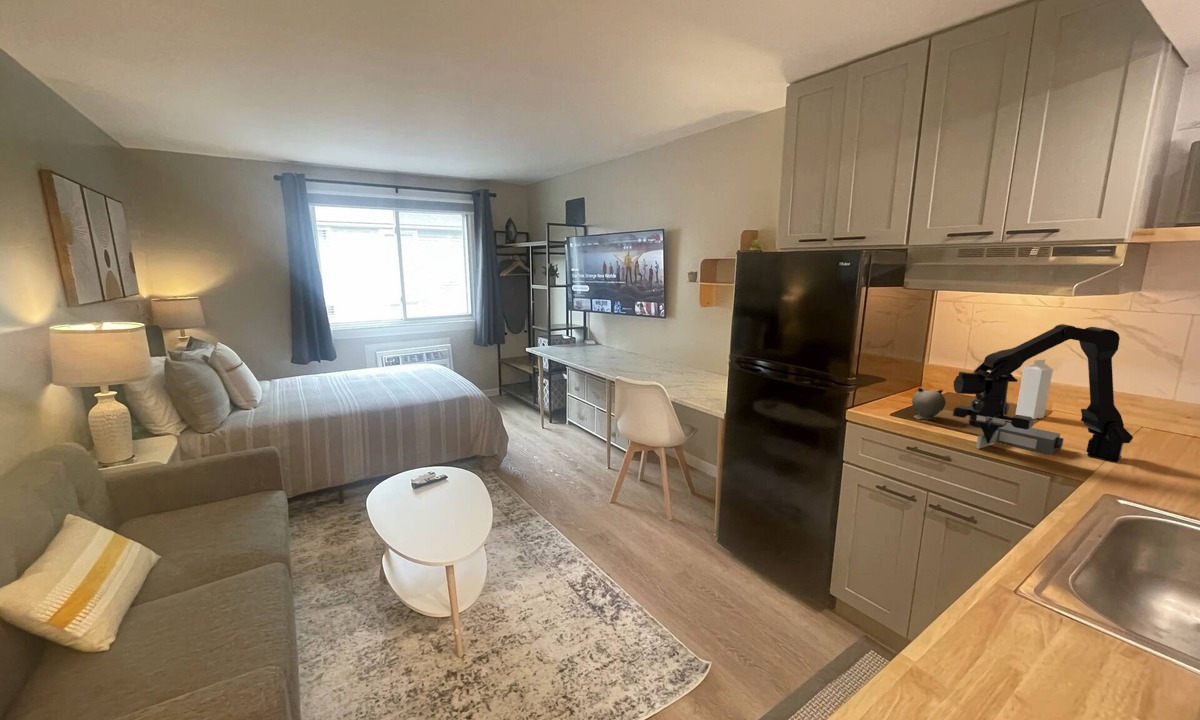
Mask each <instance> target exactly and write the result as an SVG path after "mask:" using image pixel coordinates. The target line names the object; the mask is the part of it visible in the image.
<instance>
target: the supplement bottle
mask: <svg viewBox="0 0 1200 720" xmlns="http://www.w3.org/2000/svg"><path fill="white" fill-rule="evenodd" d="M982 396H983V393H981V394H975V396H974V397H975V399H972V401H971V402H970V407H973V409H974V410H975V411H980V410H981V406H980V403H981V399H982ZM968 416H969V417H968V425H970V426H972V427H976V428H980V429H981V427H980V425H979V423H976V422H975V421H976V420H977V417H975V416H970V415H968ZM985 416H987V415H985ZM992 422H993V420H992Z"/></svg>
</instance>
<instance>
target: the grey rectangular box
mask: <svg viewBox="0 0 1200 720" xmlns="http://www.w3.org/2000/svg"><path fill="white" fill-rule="evenodd" d="M1000 443H1001V445H1004V444H1006V445H1005V446H1008V445H1009V447H1012V448H1017V449H1021V450H1025V451H1030V452H1034V453H1038V454H1041V455H1042V454H1043V455H1046V456H1052V455H1053V454H1054V453H1055V452H1056V451H1057V450H1061V449H1062V448H1063V445H1064V437H1061V433H1059V432H1055V431H1050V430H1046V429H1040V428H1035V427H1031V428H1029V429H1021V428H1016V427H1013V425H1012V424H1011V423H1008V422H1007V424H1006V425H1005V426H1003V427H999V428H998V430H997V434H996V440H995V443H994V444H1000Z"/></svg>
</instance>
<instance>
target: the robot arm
mask: <svg viewBox="0 0 1200 720" xmlns="http://www.w3.org/2000/svg"><path fill="white" fill-rule="evenodd" d="M1120 338H1121V337H1120V334H1119V333H1118V332H1117V331H1115V330H1113V329H1108V328H1103V327H1096V326H1088V327H1086V328H1081V327H1077V326H1074V325H1070V324H1069V325H1068V324H1064V323H1061V324H1057V325H1055V326H1054V327H1053V328H1051V329H1049V330H1048V331H1045V332H1043V333H1041V334H1039V335H1037V336H1035V337H1033V338H1031V339H1028V340H1027V341H1025V342H1023V343H1021V344H1019V345H1017V346H1015V347H1011V348H1009V349H1008V348H1007V349H1002V350H999V351H995V352H992V353H990V354H988V355H986V356H985V358H984V360H983V362H982V363H981V364H980V365H978V366H977V368H976V369H974V370H973V372H965V371H959V372H958V375H957V376H956V377H955V379H954V380H953V391H955V393H956V394H960V395H962V394H964V395H976V394H981V393H983V396H982V399H981V403H980V406H981V410H980V411H975V410H974V409H973V407H971V406H968V405H963V404H959V405H958V406H956V407H954V409H953V411H952V416H953V417H957V418H963V419H964V418H966V417H967V416H969V415H970V416H975V417H977V420H976V421H975V422H976V423H979V425H980V427H981V428H980V429H981V430H982V434H984V435H985V438H986V441H987V443H990V440H991V439H992V437H993V435H994V434H995V432H996V431H997V430H998V428H999V427H1003V426H1005V425H1006V424H1007V423H1011V424H1012V425H1013V427H1016V428H1021V429H1029V428H1033V425H1034V419H1032V417H1028V416H1022V415H1016V414H1015V415H1014V416H1008V414H1009V409H1010V406H1011V405H1010V404H1009V403H1008V402H1007V401H1008V400H1007V399H1008V398H1007V396H1008V391H1009V390H1008V388H1009V383H1010V382H1011V383H1017V382H1018V379H1017V378H1015V376H1014V375H1013V373H1014V372H1015V371H1017V370H1018V369H1020V368H1021V367H1022V366H1023V364H1024V363H1025V362H1027V361H1028V360H1030V359H1031V358H1034V357H1036V356H1038V355H1039V354H1040V355H1041V354H1042V353H1044V352H1046V351H1048V350H1050V349H1053V348H1054V347H1056V346H1058V345H1060V344H1062V343H1063V344H1064V342H1066V341H1070V340H1073V341H1079V345H1080V348H1081V350H1082V351H1083V353H1084V354H1085V356H1086V358H1087V368H1088V382H1089V383H1088V384H1089V385H1088V387H1089V400H1090V402H1089V405H1088V407H1087V408H1081V409H1080V412H1081V419H1080V421H1081V422H1083V424H1084V426H1085V427H1086V428H1087V431H1088V433H1090V434H1092V436H1091V438H1089V440H1088V443H1087V448H1086V453H1087V454H1086V456H1087V457H1091V458H1094V459H1099V460H1104V461H1109V462H1114V463H1119V462H1120V460H1121V459H1122V451H1123V447H1124V444H1130V443H1131V442H1132V440H1133V438H1134V437H1133V435H1132V434H1131V433H1130V432H1129V431H1128V430H1127V429H1126V428H1125V424H1124V421H1123V420H1124V419H1123V416H1122V414H1121V413H1120V411H1119V410H1118V408H1117V407H1116V406H1115V400H1114V399H1115V395H1114V393H1115V392H1114V376H1113V374H1114V373H1113V357H1114V356H1115V354H1116V352H1117V351H1118V350H1119V345H1120V340H1121V339H1120ZM985 415H987V416H985ZM992 420H993V422H992Z"/></svg>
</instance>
